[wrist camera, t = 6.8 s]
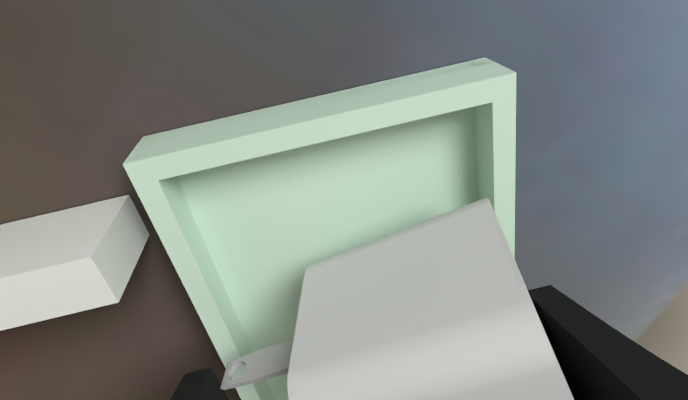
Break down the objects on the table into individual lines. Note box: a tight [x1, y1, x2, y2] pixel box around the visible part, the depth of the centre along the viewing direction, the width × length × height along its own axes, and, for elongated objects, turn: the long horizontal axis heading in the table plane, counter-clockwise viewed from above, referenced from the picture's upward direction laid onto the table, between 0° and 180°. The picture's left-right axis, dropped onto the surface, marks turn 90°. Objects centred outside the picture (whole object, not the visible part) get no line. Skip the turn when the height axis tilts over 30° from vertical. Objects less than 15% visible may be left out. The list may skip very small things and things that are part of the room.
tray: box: [123, 58, 516, 400], centre depth 12 cm, size 11×8×2 cm
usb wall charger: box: [220, 197, 574, 400], centre depth 10 cm, size 4×7×4 cm, turn 119°
